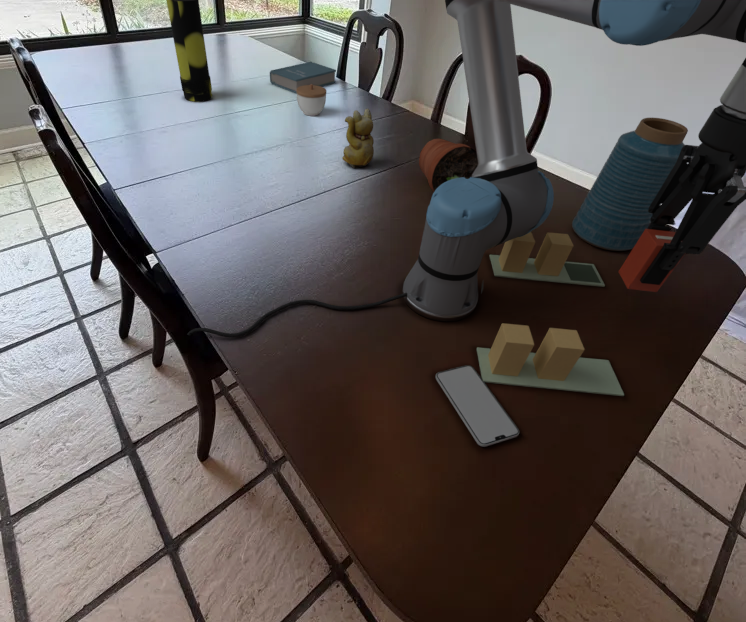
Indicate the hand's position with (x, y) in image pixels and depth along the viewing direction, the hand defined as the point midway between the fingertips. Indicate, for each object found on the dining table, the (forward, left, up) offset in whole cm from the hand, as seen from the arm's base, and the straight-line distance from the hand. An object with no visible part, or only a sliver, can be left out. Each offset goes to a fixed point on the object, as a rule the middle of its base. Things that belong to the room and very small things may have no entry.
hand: (643, 272), depth 68 cm
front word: (-9, -6, -19) cm, 22 cm away
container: (-111, +118, -19) cm, 163 cm away
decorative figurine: (-47, +72, -19) cm, 88 cm away
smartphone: (-23, -15, -19) cm, 33 cm away
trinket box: (-67, +112, -19) cm, 132 cm away
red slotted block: (0, 0, -2) cm, 2 cm away
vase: (+17, +43, -19) cm, 50 cm away
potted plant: (-19, +51, -19) cm, 58 cm away
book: (-75, +146, -19) cm, 165 cm away
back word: (-2, +25, -19) cm, 31 cm away
